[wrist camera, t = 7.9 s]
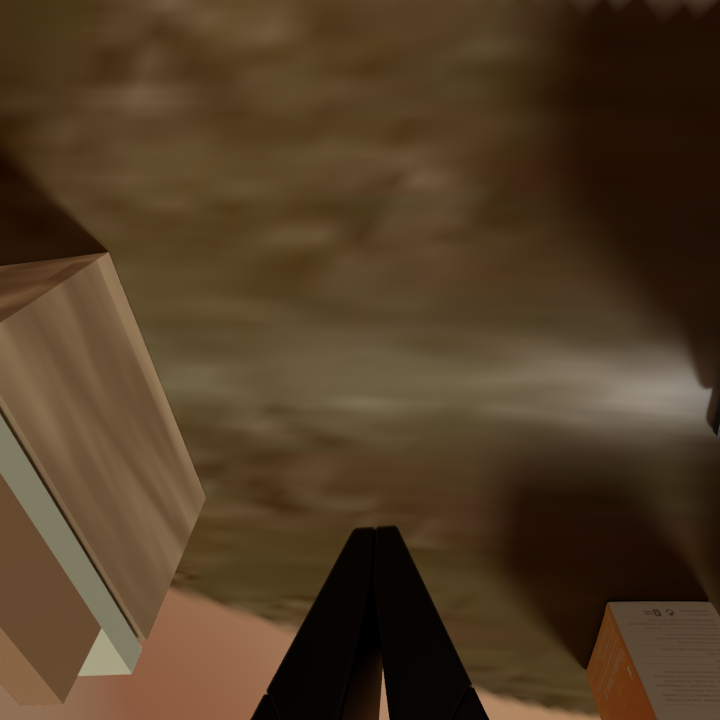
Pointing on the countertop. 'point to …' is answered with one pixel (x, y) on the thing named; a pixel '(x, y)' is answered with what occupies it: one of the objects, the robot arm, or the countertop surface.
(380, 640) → the robot arm
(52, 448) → the box
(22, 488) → the lid
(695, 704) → the small box
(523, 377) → the countertop surface
